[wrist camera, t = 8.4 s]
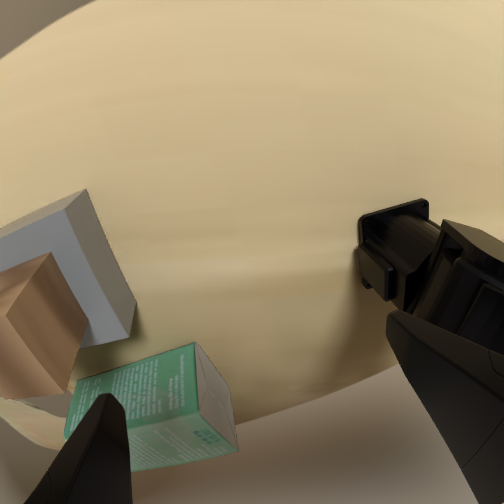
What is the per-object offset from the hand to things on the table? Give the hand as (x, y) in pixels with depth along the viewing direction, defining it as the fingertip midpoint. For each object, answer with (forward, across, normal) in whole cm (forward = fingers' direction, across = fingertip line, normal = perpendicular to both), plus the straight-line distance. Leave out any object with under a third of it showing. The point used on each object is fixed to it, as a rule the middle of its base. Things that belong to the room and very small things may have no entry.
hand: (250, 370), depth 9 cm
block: (+9, +12, 0) cm, 15 cm away
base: (+13, +12, 0) cm, 18 cm away
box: (+13, +11, +14) cm, 22 cm away
